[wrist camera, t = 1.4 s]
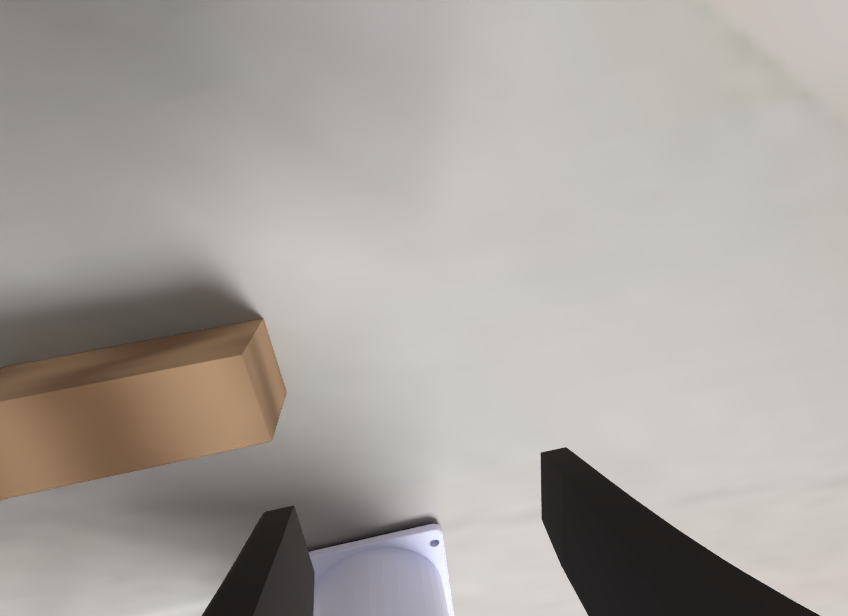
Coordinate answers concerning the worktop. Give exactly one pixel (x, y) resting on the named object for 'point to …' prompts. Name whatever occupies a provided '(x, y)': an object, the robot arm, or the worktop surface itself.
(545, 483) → the robot arm
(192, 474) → the worktop surface
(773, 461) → the worktop surface
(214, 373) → the tan rectangular block
